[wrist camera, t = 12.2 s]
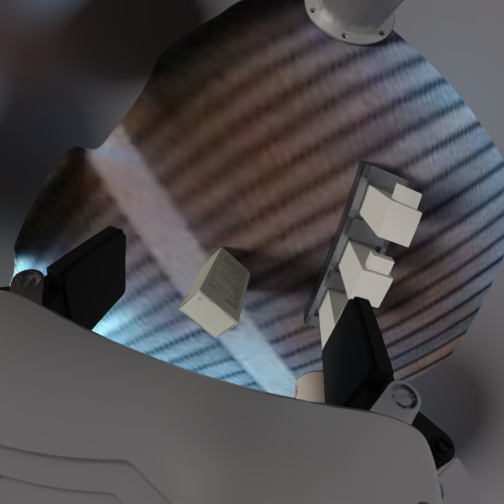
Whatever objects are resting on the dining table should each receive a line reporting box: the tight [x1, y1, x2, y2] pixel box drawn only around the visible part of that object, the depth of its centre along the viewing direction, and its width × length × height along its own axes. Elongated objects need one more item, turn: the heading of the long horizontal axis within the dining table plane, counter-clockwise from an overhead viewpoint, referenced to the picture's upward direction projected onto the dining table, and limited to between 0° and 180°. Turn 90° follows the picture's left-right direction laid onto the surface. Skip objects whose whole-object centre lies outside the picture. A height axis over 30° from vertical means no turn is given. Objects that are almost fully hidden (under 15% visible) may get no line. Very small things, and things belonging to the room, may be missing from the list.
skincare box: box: [180, 247, 250, 338], centre depth 37 cm, size 6×4×12 cm
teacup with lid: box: [295, 371, 325, 403], centre depth 46 cm, size 12×9×12 cm
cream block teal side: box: [359, 183, 422, 247], centre depth 29 cm, size 6×5×9 cm
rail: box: [304, 161, 412, 327], centre depth 37 cm, size 25×7×3 cm, turn 166°
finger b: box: [338, 239, 395, 308], centre depth 32 cm, size 6×5×9 cm
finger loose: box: [319, 288, 348, 350], centre depth 36 cm, size 6×5×9 cm
